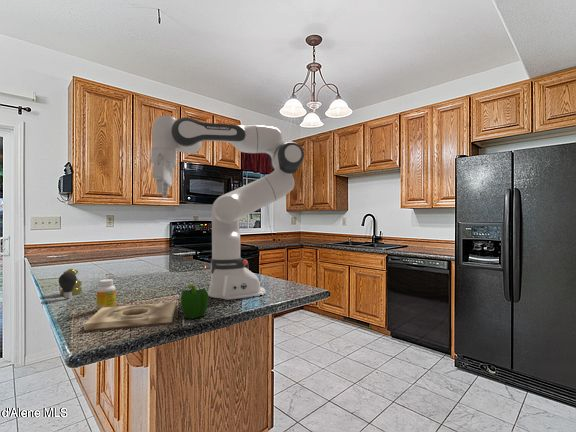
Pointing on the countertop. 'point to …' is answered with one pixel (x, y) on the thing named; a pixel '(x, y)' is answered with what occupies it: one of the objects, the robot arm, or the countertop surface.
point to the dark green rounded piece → (76, 288)
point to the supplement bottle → (106, 294)
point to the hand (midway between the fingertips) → (162, 195)
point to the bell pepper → (194, 302)
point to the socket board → (131, 316)
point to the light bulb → (67, 283)
